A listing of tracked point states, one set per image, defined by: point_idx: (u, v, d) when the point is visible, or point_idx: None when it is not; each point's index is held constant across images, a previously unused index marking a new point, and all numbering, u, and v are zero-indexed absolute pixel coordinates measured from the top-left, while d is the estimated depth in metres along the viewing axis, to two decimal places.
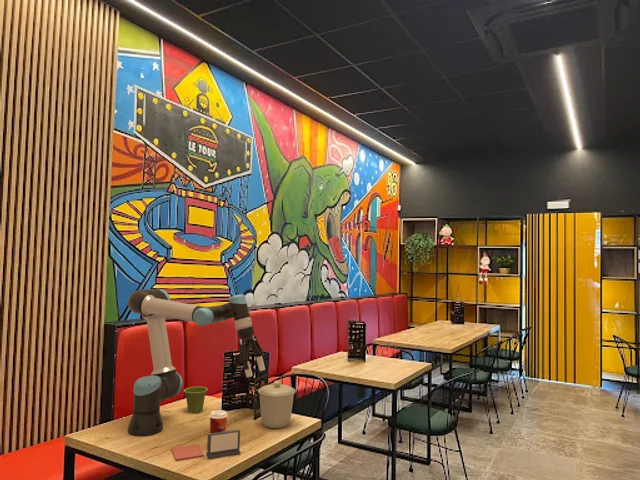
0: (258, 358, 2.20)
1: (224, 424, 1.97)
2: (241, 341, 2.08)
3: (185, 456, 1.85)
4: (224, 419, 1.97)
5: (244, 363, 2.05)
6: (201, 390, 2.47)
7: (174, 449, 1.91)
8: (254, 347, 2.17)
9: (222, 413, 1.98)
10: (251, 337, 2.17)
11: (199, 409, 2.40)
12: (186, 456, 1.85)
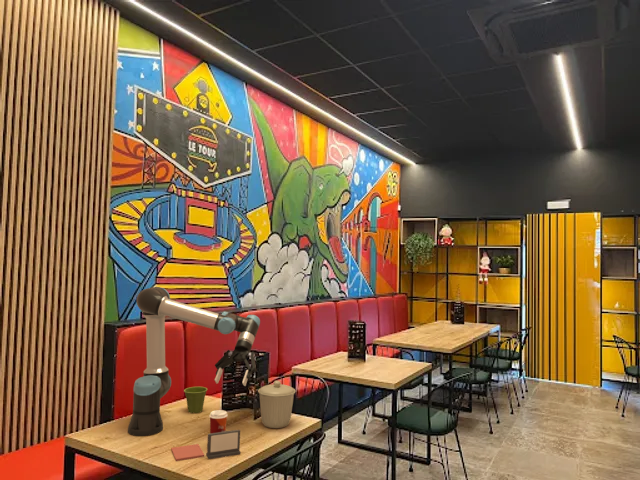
0: (221, 370, 2.15)
1: (224, 424, 1.97)
2: (254, 354, 2.19)
3: (185, 456, 1.85)
4: (224, 419, 1.97)
5: (251, 372, 2.11)
6: (201, 390, 2.47)
7: (174, 449, 1.91)
8: (231, 361, 2.19)
9: (222, 413, 1.98)
10: None
11: (199, 409, 2.40)
12: (186, 456, 1.85)
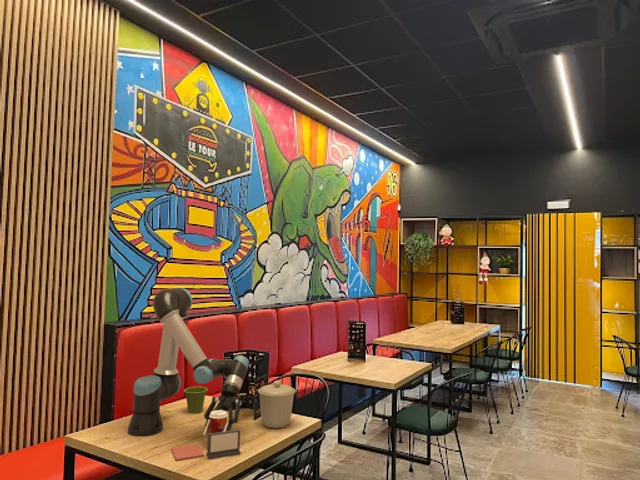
0: None
1: (224, 424, 1.97)
2: (241, 402, 2.05)
3: (185, 456, 1.85)
4: (224, 419, 1.97)
5: (231, 423, 1.98)
6: (201, 390, 2.47)
7: (174, 449, 1.91)
8: (219, 409, 2.05)
9: (222, 413, 1.98)
10: None
11: (199, 409, 2.40)
12: (186, 456, 1.85)
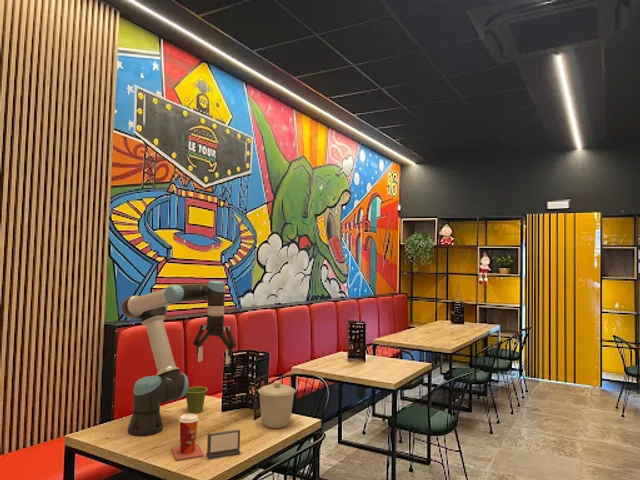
0: (201, 348, 2.12)
1: (194, 428, 1.89)
2: (229, 328, 2.10)
3: (185, 456, 1.85)
4: (194, 423, 1.89)
5: (231, 349, 2.09)
6: (201, 390, 2.47)
7: (174, 449, 1.91)
8: (208, 336, 2.13)
9: (192, 417, 1.89)
10: None
11: (199, 409, 2.40)
12: (186, 456, 1.85)
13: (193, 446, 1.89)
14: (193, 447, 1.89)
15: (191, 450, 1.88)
